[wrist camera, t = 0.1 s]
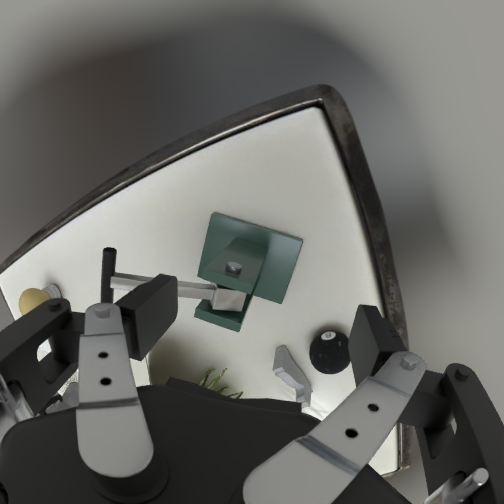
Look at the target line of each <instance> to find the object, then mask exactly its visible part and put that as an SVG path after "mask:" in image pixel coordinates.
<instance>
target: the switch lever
mask: <svg viewBox="0 0 504 504" xmlns="http://www.w3.org/2000/svg"><path fill="white" fill-rule="evenodd" d="M116 254H117V250H116V249H114V248H111V247H107V248H104V249H103V259H102V275H101V303H112V304H113V295H114V288H116V289H123V290H130V291H132V290H133V289H134V288H135V287H137V286H138V285H140V284H143V283H146V282H150V281H151V280H152V279H153V278H152V277H145V276H138V275H131V274H124V273H117V272H115V265H116ZM178 297H187V298H197V299H207V300H210V303H211V306H212V309H215V310H228V311H242V308H243V304H244V301H245V298H246V293H243V292H240V291H237V290H234V289H231V288H228V287H225V286H222V285H219V284H216V283H213V282H211V285H209V284H200V283H192V282H184V281H178Z"/></svg>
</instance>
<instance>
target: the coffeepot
mask: <svg viewBox="0 0 504 504" xmlns="http://www.w3.org/2000/svg"><path fill="white" fill-rule="evenodd" d="M58 400H60V402H59V403H58V404H54V403H56V402H57V401H58ZM52 404H54V405H53V406H51V407H50V408H49V409H47V408H48V407H49V406H50V405H52ZM78 405H79V385H78V383H76V382H74V383H70V385H69V386H68V388H67V389H66V391H65V393H64V394H63V396H61V395H60V394H58V395H56V396H54V397H52V398H51V399H50V400H49V401H48V403H47V404H46V405H45V406H44V407H43V408H42V410H41V411H40V412H39V414H40V415H39V416H42V415H46V414H50V413H53V412H57V411H61V410H65V409H68V408H72V407H75V406H78ZM46 409H47V410H46Z"/></svg>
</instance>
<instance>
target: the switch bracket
mask: <svg viewBox="0 0 504 504" xmlns="http://www.w3.org/2000/svg"><path fill="white" fill-rule="evenodd" d="M302 243H303V239H300V238H297V237H294V236H290V235H287V234H284V233H281V232H278V231H274V230H271V229H268V228H265V227H261V226H258V225H255V224H252V223H248V222H245V221H242V220H238V219H235V218H232V217H228V216H225V215H222V214H218V213H215V212H214V213H212V214H211V218H210V222H209V227H208V231H207V235H206V239H205V244H204V248H203V252H202V257H201V261H200V266H199V270H198V275H197V277H200V278H202V279H204V280H207V281H210V282H213V283H216V284H219V285H222V286H225V287H228V288H231V289H234V290H237V291H240V292H243V293H246V298H245V301H244V304H243V308H242V311H228V310H215V309H212V306H211V303H210V300H207V299H202V301H201V302H200V303H199V305H198V306H197V307H196V310H195V314H194V317H196V318H199V319H201V320H204V321H207V322H210V323H213V324H216V325H218V326H221V327H224V328H227V329H230V330H233V331H236V332H239V331H240V329H241V326H242V324H243V321H244V318H245V316H246V313H247V311H248V308H249V306H250V303H251V300H252V298H253V295H254V296H257V297H260V298H264V299H267V300H270V301H273V302H276V303H279V304H282V301H283V298H284V296H285V293H286V290H287V287H288V284H289V282H290V279H291V276H292V273H293V270H294V267H295V264H296V261H297V258H298V255H299V252H300V249H301V246H302Z"/></svg>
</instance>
